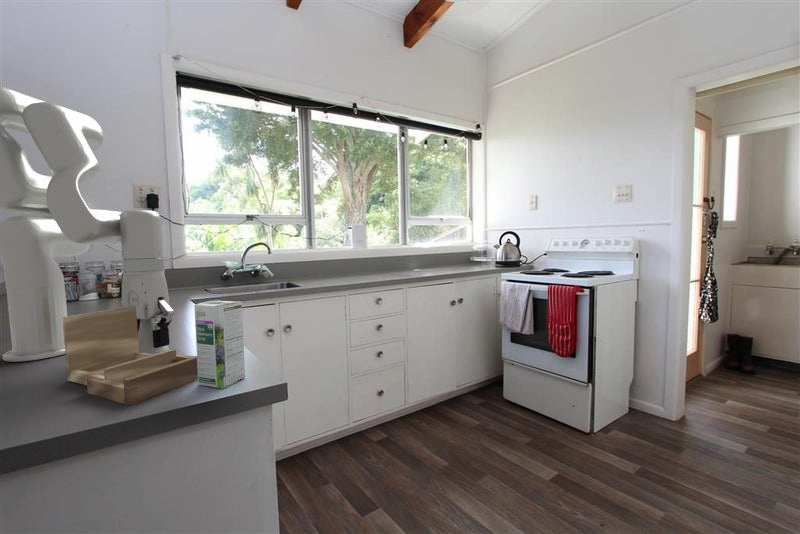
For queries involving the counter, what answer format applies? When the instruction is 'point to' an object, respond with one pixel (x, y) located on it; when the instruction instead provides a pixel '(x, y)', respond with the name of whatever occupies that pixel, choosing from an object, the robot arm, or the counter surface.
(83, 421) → the counter surface
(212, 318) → the syrup box
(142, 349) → the flask
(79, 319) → the wooden tablet stand
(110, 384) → the bay
